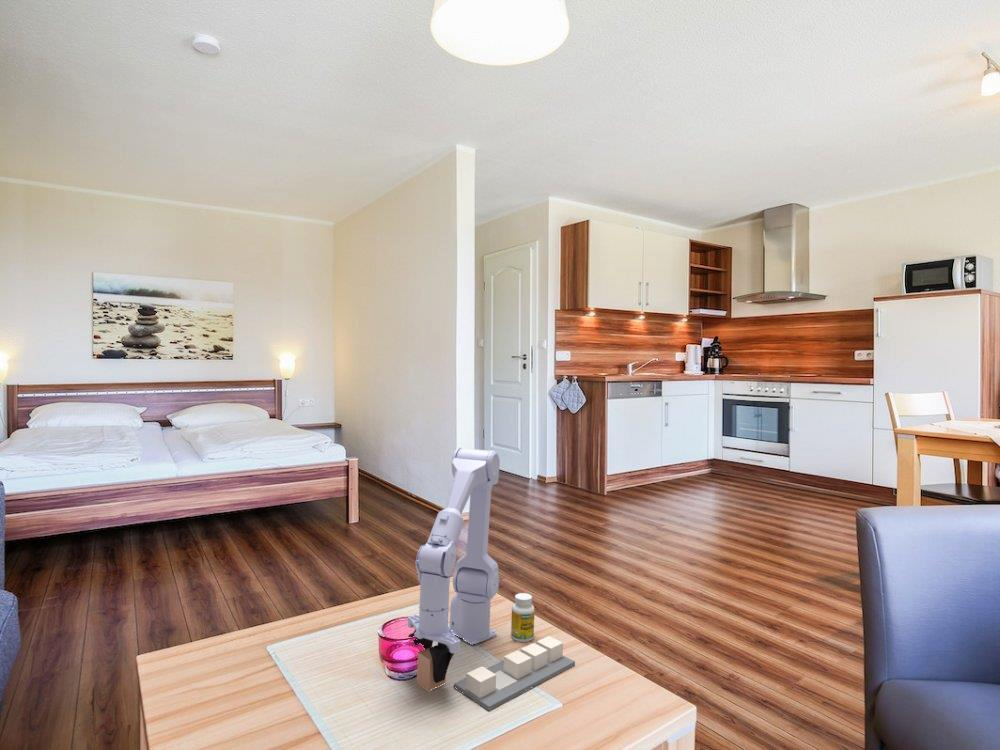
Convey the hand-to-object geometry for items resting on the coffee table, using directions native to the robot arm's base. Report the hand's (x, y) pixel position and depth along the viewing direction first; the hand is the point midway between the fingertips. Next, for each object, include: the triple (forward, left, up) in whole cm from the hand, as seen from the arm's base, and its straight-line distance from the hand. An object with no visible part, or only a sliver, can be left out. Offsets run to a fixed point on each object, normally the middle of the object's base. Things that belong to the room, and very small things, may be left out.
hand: (431, 675), depth 109 cm
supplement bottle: (-2, +28, -2) cm, 28 cm away
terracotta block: (0, 0, -2) cm, 2 cm away
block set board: (+9, +15, -2) cm, 18 cm away
